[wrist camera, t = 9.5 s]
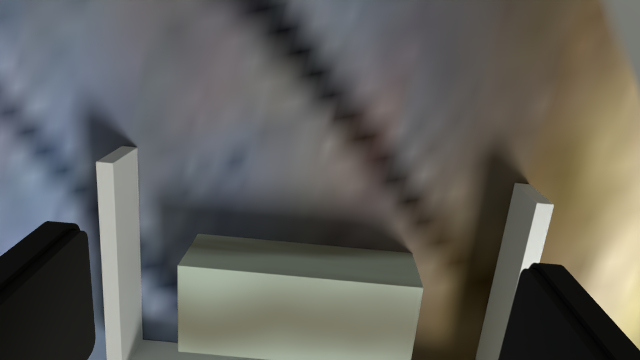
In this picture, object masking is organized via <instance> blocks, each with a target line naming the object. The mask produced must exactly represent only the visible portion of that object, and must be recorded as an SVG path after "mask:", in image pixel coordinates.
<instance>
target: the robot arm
mask: <svg viewBox="0 0 640 360" xmlns="http://www.w3.org/2000/svg"><path fill="white" fill-rule="evenodd" d="M94 344H95V324H94V311H93V298H92V286H91V273H90V260H89V247H88V237H87V234H86V232H85V231H80V229H79V226H78V225H77V224H75V223H64V222H52V221H47V222H45V223H43V224H42V225H40V226H39V227H38V228H37V229H35V230H34V231H33V232H31V233H30V234H29V235H28V236H26V237H25V238H24V239H22V240H21V241H20V242H18V243H17V244H16V245H15V246H13V247H12V248H11V249H9V250H8V251H7V252H6V253H4V254H3V255H2V256H0V360H87V359H88V358H89V356H90V355H91V353H92V351H93V348H94ZM498 360H640V350H639V349H638V348H637V347H636V346H635V345H634V344H633V342H632V341H631V340H630V339H629V338H628V337H627V336H626V335H625V334H624V333H623V331H622V330H621V329H620V328H619V327H618V326H617V325H616V324H615V323H614V321H613V320H612V319H611V318H610V317H609V316H608V315H607V314H606V313H605V311H604V310H603V309H602V308H601V307H600V306H599V305H598V304H597V303H596V302H595V300H594V299H593V298H592V297H591V296H590V295H589V294H588V293H587V292H586V290H585V289H584V288H583V287H582V286H581V285H580V284H579V283H578V282H577V281H576V279H575V278H574V277H573V276H572V275H571V274H570V273H569V272H568V271H567V269H566V268H565V267H564V266H562V265H557V264H545V263H532V264H531V265H530V267H529V269H526V268H524V269H523V270H522V271H521V273H520V276H519V280H518V284H517V288H516V292H515V296H514V300H513V304H512V308H511V312H510V315H509V319H508V323H507V327H506V331H505V335H504V339H503V343H502V347H501V350H500V354H499V358H498Z"/></svg>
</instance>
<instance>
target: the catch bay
mask: <svg viewBox="0 0 640 360" xmlns="http://www.w3.org/2000/svg"><path fill="white" fill-rule="evenodd" d="M96 171H97V189H98V207H99V225H100V243H101V261H102V279H103V296H104V314H105V332H106V350H107V360H266V359H255V358H244V357H233V356H222V355H211V354H200V353H190V352H179V351H178V343H173V342H163V341H152V340H143V331H142V296H141V260H140V225H139V190H138V154H137V147H127V146H121V147H120V148H118V149H116V150H115V151H113V152H111V153H110V154H108V155H106V156H105V157H103V158H101V159H100V160H98V161H96ZM553 207H554V204H553V203H551V202H550V201H549V200H548V199H547V198H546V197H544V196H543V195H542V194H541V193H540V192H539V191H537V190H536V189H535V188H534V187H533V186H531V185H530V184H522V183H515V185H514V189H513V194H512V198H511V203H510V207H509V212H508V216H507V220H506V225H505V229H504V234H503V238H502V243H501V247H500V252H499V256H498V260H497V265H496V269H495V274H494V278H493V283H492V287H491V292H490V296H489V300H488V305H487V309H486V314H485V318H484V323H483V327H482V332H481V336H480V341H479V345H478V349H477V354H476V358H475V360H498V358H499V354H500V350H501V347H502V343H503V339H504V335H505V331H506V327H507V323H508V319H509V315H510V312H511V308H512V304H513V300H514V296H515V292H516V288H517V284H518V280H519V276H520V273H521V271H522V270H523V269H524V268H526V269H529V267H530V265H531V264H532V263H539V262H540V258H541V254H542V250H543V246H544V242H545V238H546V234H547V230H548V226H549V222H550V219H551V215H552V211H553Z"/></svg>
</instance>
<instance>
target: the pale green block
mask: <svg viewBox="0 0 640 360" xmlns="http://www.w3.org/2000/svg"><path fill="white" fill-rule="evenodd" d="M422 293H423V285H422V282H421V279H420V276H419V273H418V270H417V267H416V263H415V260H414V257H413V254H412V253H405V252H394V251H383V250H372V249H361V248H350V247H339V246H328V245H317V244H306V243H295V242H284V241H273V240H262V239H251V238H240V237H229V236H218V235H206V234H197V236H196V238H195V239H194V241H193V242H192V244H191V245H190V247H189V249H188V250H187V252H186V253H185V255H184V256H183V258H182V259H181V261H180V263H179V264H178V351H179V352H190V353H200V354H211V355H222V356H233V357H244V358H255V359H266V360H411V357H412V351H413V345H414V340H415V334H416V328H417V322H418V316H419V311H420V305H421V299H422Z"/></svg>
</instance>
